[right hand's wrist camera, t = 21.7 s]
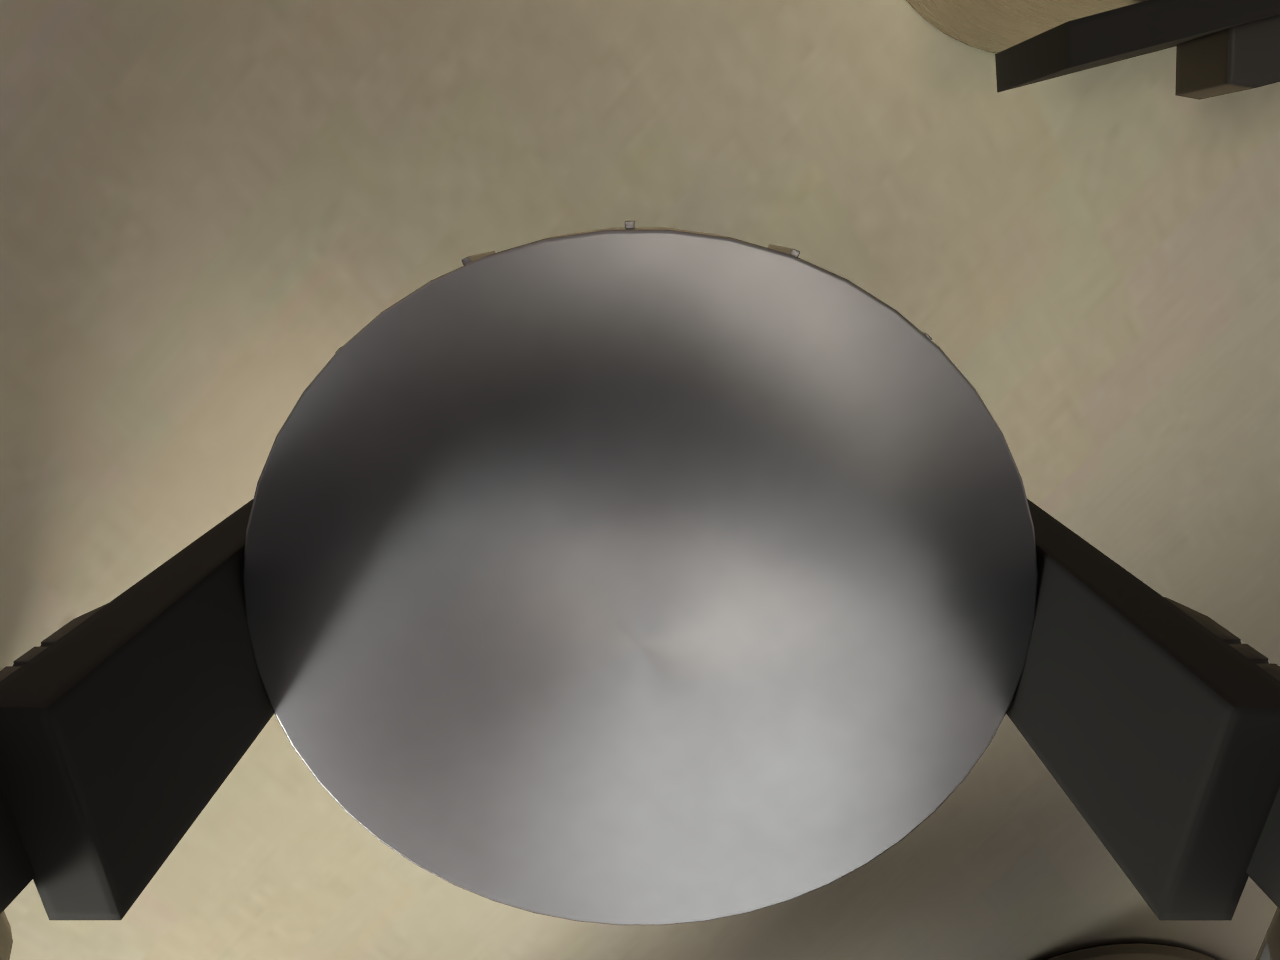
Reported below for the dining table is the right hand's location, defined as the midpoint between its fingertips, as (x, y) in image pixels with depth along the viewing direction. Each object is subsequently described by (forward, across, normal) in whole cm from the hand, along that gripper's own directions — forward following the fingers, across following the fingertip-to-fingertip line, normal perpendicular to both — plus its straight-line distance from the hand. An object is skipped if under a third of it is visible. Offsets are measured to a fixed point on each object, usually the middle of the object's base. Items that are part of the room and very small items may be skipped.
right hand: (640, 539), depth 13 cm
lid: (-3, 0, 0) cm, 3 cm away
